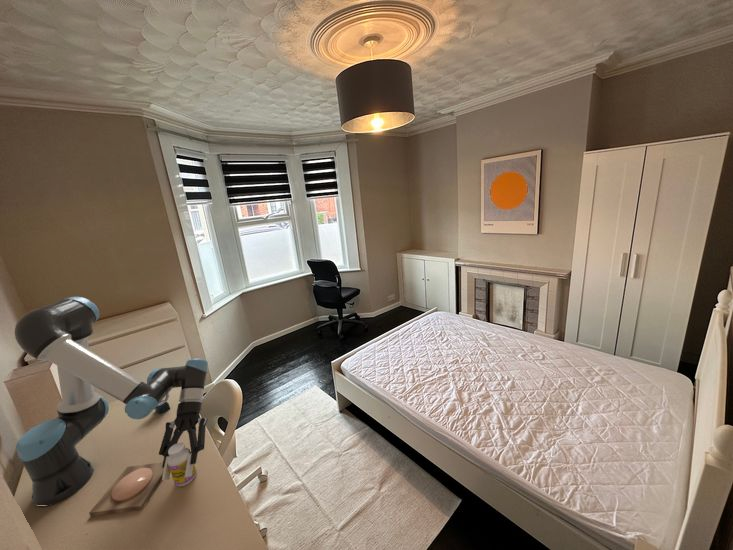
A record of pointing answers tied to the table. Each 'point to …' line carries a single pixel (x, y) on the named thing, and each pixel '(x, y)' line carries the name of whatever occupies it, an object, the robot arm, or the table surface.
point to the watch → (163, 405)
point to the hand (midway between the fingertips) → (176, 477)
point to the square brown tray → (135, 503)
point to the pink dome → (132, 484)
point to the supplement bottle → (179, 464)
